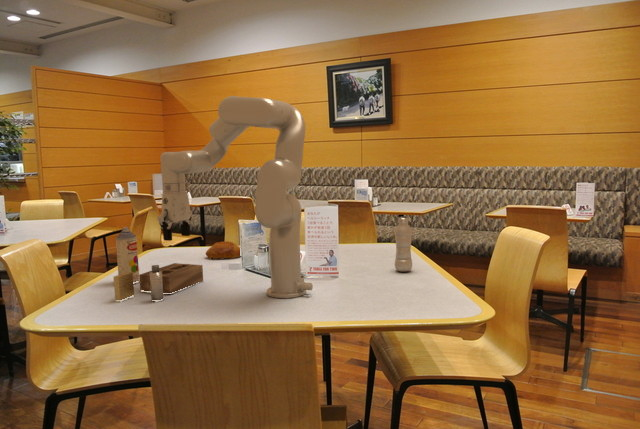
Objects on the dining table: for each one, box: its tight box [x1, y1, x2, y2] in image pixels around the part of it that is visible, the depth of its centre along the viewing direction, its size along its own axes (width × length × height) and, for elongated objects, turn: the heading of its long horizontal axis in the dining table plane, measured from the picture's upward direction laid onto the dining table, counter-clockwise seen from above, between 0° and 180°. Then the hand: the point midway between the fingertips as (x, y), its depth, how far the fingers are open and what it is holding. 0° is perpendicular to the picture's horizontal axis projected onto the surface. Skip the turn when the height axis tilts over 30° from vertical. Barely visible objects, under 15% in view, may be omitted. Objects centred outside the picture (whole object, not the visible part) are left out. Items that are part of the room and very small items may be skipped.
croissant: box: [205, 241, 241, 260], centre depth 219 cm, size 14×16×8 cm
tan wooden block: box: [113, 272, 135, 300], centre depth 155 cm, size 2×6×8 cm, turn 158°
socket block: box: [139, 262, 204, 293], centre depth 169 cm, size 12×18×6 cm, turn 158°
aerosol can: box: [115, 226, 140, 282], centre depth 175 cm, size 7×7×20 cm
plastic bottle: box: [394, 216, 413, 273], centre depth 182 cm, size 6×7×20 cm
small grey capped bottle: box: [150, 264, 165, 300], centre depth 153 cm, size 4×4×11 cm
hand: (177, 238), depth 171 cm, fingers open, 9 cm apart
